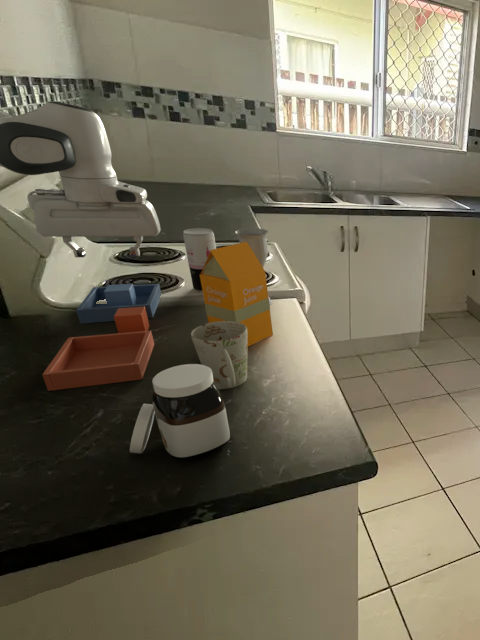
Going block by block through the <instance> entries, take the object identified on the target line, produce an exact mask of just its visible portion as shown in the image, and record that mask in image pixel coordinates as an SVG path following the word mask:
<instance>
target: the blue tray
mask: <svg viewBox="0 0 480 640" xmlns="http://www.w3.org/2000/svg"><path fill="white" fill-rule="evenodd" d="M133 286H134V290H135V294H136V298H137V304H136V305H127V306H112V307H108V305H107V304H96V302H97V301H99V300H104V299H106V298H105V294H104V291H105V289H106V288H107V286H93V287H92V288H91V290H90V291H89V293H88V294H87V295H86V296H85V298H84V299H83V301H82V302H81V303H80V305H78V307H77V308H76V310H75V311H76V315H77V317H78V320H79V324H93V323H94V324H95V323H105V322H106V323H107V322H115V319H114V315H115V314H116V312H117V310H118V308H132V307H145V309H146V313H147V317H148V319H153V318H154V316H155V314H156V312H157V309H158V306H159V304H160V301H161V299H160V296H161V295H162V291H161V287H160V283H152V284H151V283H149V284H147V283H146V284H133ZM161 297H162V296H161Z"/></svg>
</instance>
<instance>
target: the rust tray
mask: <svg viewBox="0 0 480 640" xmlns="http://www.w3.org/2000/svg"><path fill="white" fill-rule="evenodd" d="M154 346H155V340H154V337H153V333H152V330H148V331H139V332H127V333H118V332H117V333H116V332H115V333H105V334H94V335H83V336H70V337H68V338H67V339H66V340H65V341H64V343H63V345H62V346H61V347H60V349H59V350H58V351H57V353H56V354H55V356H54V357H53V359H52V360H51V362H50V363H49V364H48V366H47V367H46V368H45V370H44V372H43V373H42V374H41V375H42V378H43V380H44V383H45V386H46V389H47V391H48V392H50V391H60V390H68V389H74V388H75V389H76V388H83V387H93V386H100V385H107V384H116V383H124V382H125V383H126V382H132V381H140V380H143V378H144V376H145V373H146V370H147V367H148V365H149V361H150V359H151V356H152V352H153V350H154Z"/></svg>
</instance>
